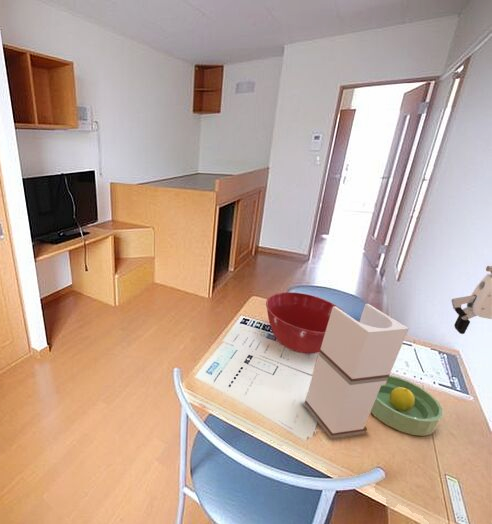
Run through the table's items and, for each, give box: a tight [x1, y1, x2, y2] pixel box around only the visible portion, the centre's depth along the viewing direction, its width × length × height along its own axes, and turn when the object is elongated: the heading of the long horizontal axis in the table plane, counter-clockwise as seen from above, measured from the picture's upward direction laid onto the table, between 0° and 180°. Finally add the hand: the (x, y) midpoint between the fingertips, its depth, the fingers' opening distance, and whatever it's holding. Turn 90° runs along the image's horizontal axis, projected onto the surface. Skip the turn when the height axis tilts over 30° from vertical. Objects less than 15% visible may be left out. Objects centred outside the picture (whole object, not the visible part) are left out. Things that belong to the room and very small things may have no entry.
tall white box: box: [303, 303, 409, 439], centre depth 82 cm, size 11×11×35 cm
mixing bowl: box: [265, 291, 345, 355], centre depth 119 cm, size 28×28×16 cm
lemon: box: [389, 387, 415, 411], centre depth 90 cm, size 6×6×8 cm
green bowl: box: [370, 374, 444, 437], centre depth 91 cm, size 18×18×6 cm
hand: (483, 335), depth 77 cm, fingers open, 9 cm apart
